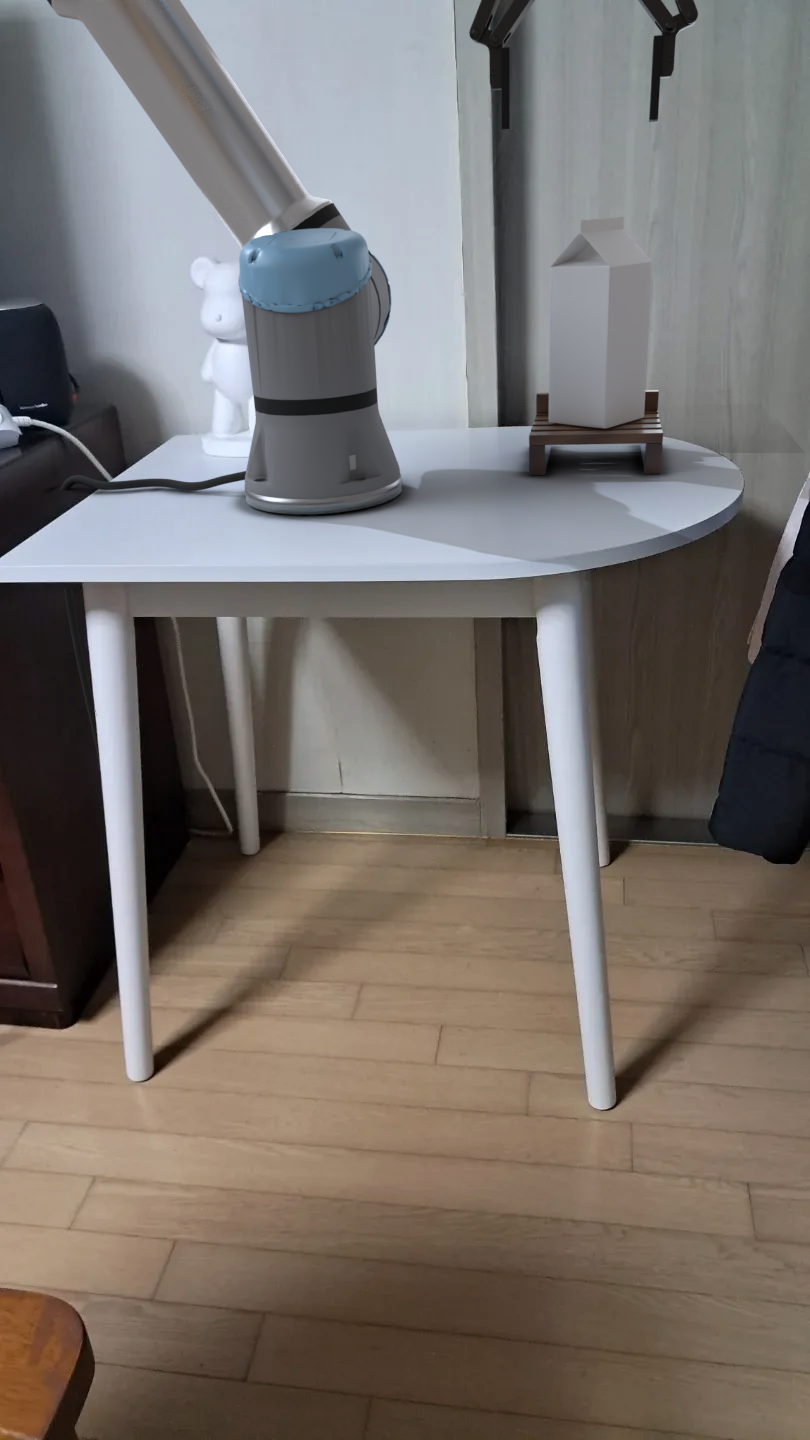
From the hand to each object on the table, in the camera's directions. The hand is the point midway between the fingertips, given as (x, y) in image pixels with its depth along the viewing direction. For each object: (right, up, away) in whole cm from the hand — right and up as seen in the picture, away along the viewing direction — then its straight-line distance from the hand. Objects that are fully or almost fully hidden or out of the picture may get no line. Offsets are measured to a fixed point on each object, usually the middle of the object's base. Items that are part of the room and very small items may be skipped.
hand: (579, 126), depth 97 cm
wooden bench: (+4, -28, +12) cm, 31 cm away
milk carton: (+3, -25, +10) cm, 27 cm away
